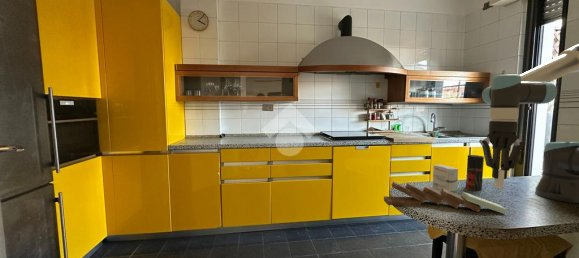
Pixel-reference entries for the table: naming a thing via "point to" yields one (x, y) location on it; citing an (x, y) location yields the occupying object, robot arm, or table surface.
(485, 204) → the domino
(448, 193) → the domino
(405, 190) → the domino
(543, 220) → the table surface
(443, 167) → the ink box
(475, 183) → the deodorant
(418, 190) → the domino
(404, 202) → the domino
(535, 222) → the table surface
